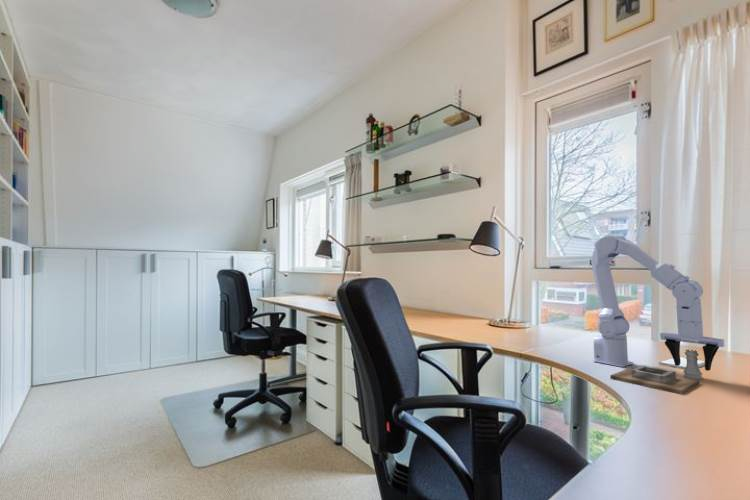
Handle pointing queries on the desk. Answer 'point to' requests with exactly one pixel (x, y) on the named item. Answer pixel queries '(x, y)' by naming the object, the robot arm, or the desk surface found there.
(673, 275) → the robot arm
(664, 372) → the socket board
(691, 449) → the desk surface
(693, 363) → the rook chess piece
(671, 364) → the external hard drive
